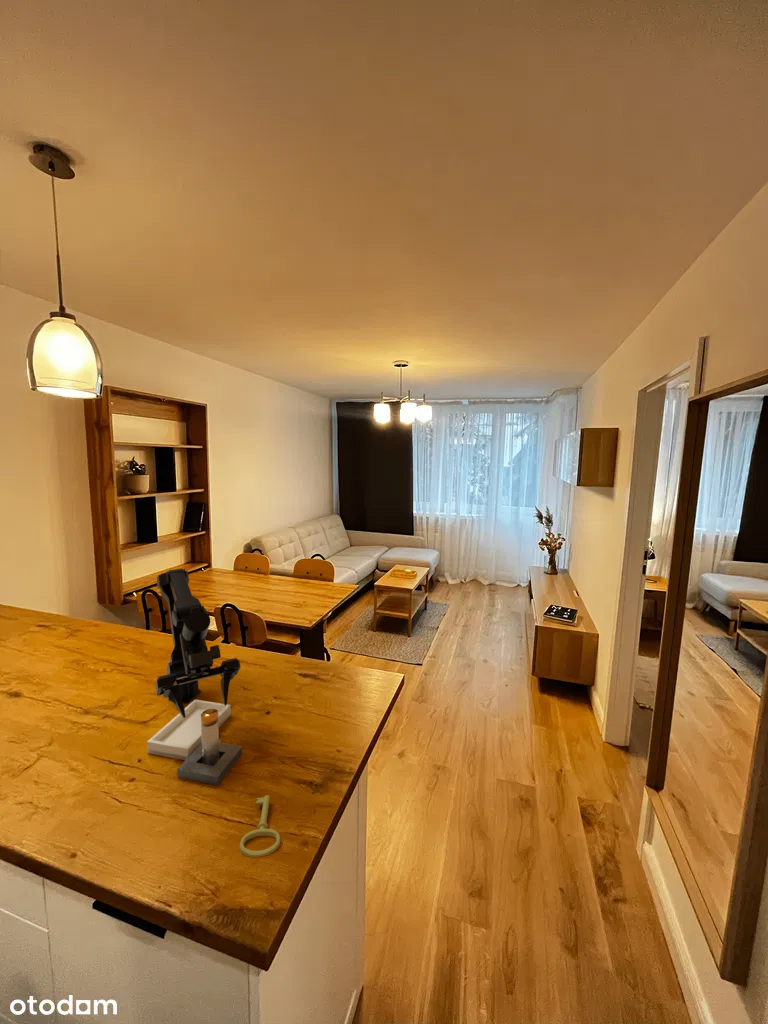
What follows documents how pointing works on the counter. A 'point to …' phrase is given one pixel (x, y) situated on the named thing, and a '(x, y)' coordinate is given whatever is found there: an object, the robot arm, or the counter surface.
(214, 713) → the pin
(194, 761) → the grey flat square frame
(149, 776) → the counter surface
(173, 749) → the parts tray
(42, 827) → the counter surface
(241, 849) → the key
